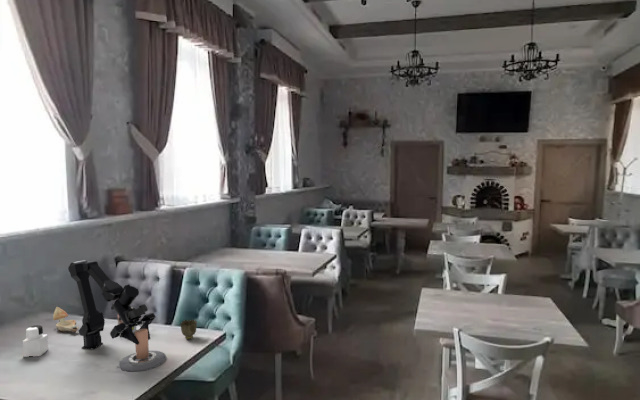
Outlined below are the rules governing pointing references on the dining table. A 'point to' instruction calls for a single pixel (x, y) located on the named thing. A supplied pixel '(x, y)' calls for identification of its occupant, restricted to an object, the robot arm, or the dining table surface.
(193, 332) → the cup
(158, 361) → the charcoal plate
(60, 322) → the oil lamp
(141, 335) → the terracotta peg
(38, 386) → the dining table surface
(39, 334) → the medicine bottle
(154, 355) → the metal collar
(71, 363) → the dining table surface
